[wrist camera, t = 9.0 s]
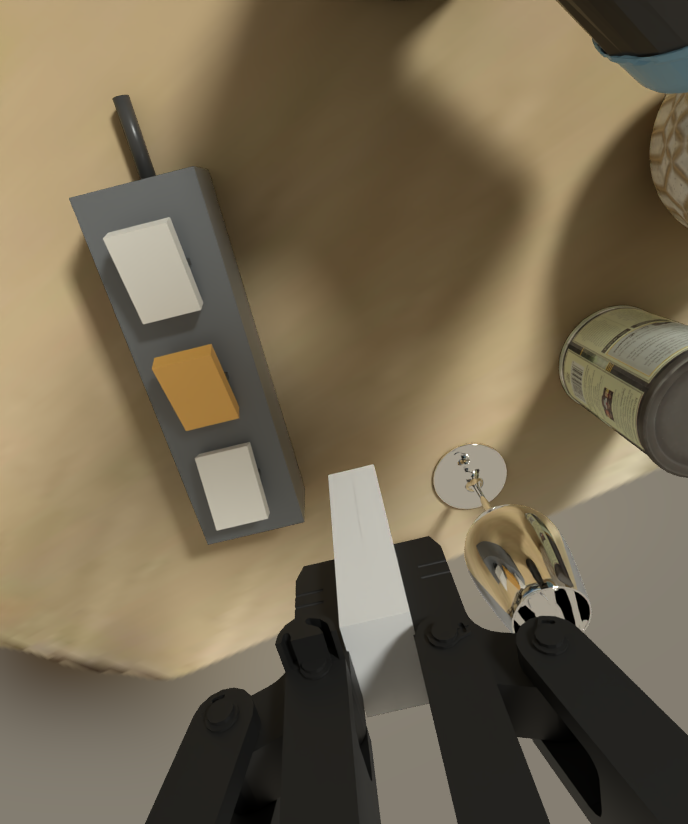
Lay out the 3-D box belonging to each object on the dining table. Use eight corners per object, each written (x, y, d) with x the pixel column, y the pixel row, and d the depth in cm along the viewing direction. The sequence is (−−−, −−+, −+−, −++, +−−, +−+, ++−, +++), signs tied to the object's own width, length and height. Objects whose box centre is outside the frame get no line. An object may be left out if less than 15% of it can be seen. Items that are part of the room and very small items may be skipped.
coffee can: (683, 364, 52) (809, 421, 39) (590, 428, 54) (681, 503, 41) (634, 280, 48) (755, 311, 35) (537, 351, 50) (618, 406, 37)
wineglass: (464, 427, 53) (549, 553, 34) (523, 465, 55) (632, 604, 36) (416, 486, 55) (471, 635, 36) (474, 521, 57) (554, 678, 38)
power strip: (66, 115, 41) (21, 100, 34) (182, 84, 41) (159, 64, 34) (216, 509, 54) (204, 551, 48) (304, 488, 54) (304, 527, 48)
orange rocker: (154, 357, 40) (151, 368, 39) (211, 343, 40) (210, 354, 39) (187, 419, 44) (186, 431, 43) (239, 407, 44) (239, 418, 43)
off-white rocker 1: (107, 232, 37) (102, 238, 36) (169, 216, 37) (166, 222, 36) (146, 316, 41) (143, 324, 39) (203, 302, 40) (201, 309, 39)
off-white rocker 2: (198, 453, 45) (194, 458, 44) (249, 441, 45) (247, 445, 44) (220, 524, 46) (216, 530, 45) (269, 512, 46) (267, 518, 45)
